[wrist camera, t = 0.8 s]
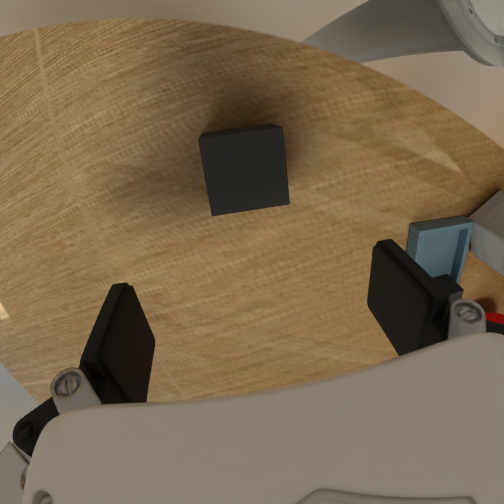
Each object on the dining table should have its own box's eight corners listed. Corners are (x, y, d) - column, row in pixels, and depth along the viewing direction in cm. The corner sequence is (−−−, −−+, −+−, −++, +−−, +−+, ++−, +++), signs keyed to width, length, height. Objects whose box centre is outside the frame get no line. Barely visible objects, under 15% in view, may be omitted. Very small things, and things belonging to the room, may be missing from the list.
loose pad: (201, 133, 23) (198, 138, 19) (272, 123, 23) (282, 126, 20) (212, 200, 26) (211, 216, 22) (279, 190, 26) (289, 204, 22)
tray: (409, 223, 29) (419, 231, 27) (463, 215, 30) (473, 221, 28) (392, 325, 36) (398, 334, 35) (441, 309, 37) (448, 317, 35)
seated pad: (413, 282, 33) (429, 301, 29) (447, 273, 33) (464, 289, 29) (404, 318, 36) (418, 337, 32) (437, 308, 36) (451, 325, 32)
